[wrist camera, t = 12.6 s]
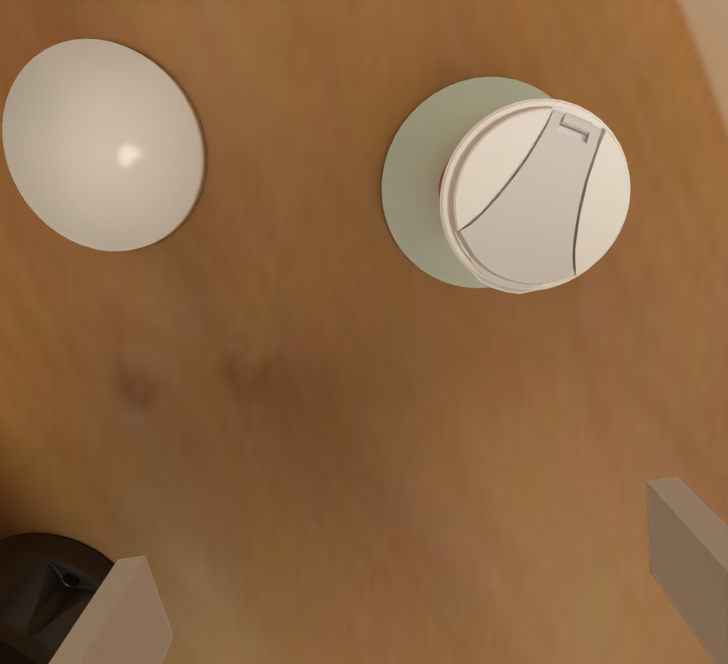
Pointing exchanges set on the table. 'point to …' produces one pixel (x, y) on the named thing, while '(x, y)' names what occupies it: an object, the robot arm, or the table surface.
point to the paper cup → (534, 195)
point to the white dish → (104, 145)
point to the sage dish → (438, 169)
